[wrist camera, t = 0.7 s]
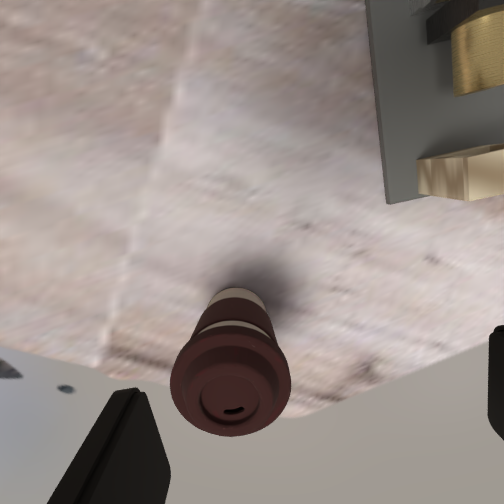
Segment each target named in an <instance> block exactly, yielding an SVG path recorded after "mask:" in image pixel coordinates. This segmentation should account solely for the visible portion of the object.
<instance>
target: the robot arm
mask: <svg viewBox="0 0 504 504" xmlns="http://www.w3.org/2000/svg"><path fill="white" fill-rule="evenodd" d="M488 419H489V422H490V424H491V426H492V427H493V429H494V430H495V432H496V433H497V434H498V435H499V436H500V437H501V438H502V439H503V440H504V325H500V326H497V327H496V328H495V329H494V332H493V333H491V334H490V336H489V367H488ZM170 478H171V471H170V465H169V462H168V459H167V457H166V453H165V450H164V447H163V443H162V440H161V437H160V434H159V432H158V428H157V425H156V422H155V419H154V416H153V413H152V410H151V407H150V404H149V401H148V398H147V395H146V393H145V392H140V390H139V389H138V388H129V389H123V390H117V391H115V392H114V393H113V394H112V395H111V397H110V399H109V400H108V402H107V404H106V406H105V407H104V409H103V411H102V412H101V414H100V415H99V417H98V419H97V421H96V422H95V424H94V426H93V427H92V429H91V431H90V432H89V434H88V436H87V437H86V439H85V441H84V442H83V444H82V446H81V447H80V449H79V451H78V452H77V454H76V456H75V457H74V459H73V461H72V462H71V464H70V466H69V467H68V469H67V471H66V472H65V474H64V476H63V477H62V479H61V481H60V482H59V484H58V486H57V488H56V489H55V491H54V492H53V494H52V496H51V497H50V499H49V501H48V502H47V504H165V500H166V496H167V492H168V488H169V484H170Z"/></svg>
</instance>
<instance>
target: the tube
mask: <svg viewBox="0 0 504 504" xmlns="http://www.w3.org/2000/svg"><path fill="white" fill-rule="evenodd" d="M426 32H427V45H431V44H435V43H439V42H443V41H448V40H451V49H452V72H453V95H454V97H460V96H465V95H469V94H473V93H477V92H481V91H485V90H488V89H492V88H495V87H499V86H502V85H504V0H449V2H447V3H446V4H445V5H444V6H443V7H441V8H440V9H439V10H438V11H436V12H435V13H434V14H433V15H432V16H430V17H429V18H428V19H427V20H426Z"/></svg>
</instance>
